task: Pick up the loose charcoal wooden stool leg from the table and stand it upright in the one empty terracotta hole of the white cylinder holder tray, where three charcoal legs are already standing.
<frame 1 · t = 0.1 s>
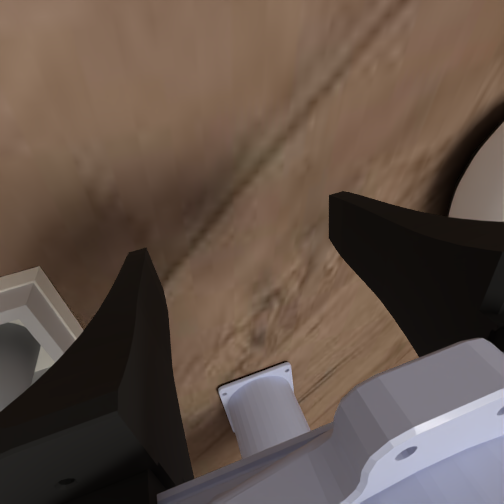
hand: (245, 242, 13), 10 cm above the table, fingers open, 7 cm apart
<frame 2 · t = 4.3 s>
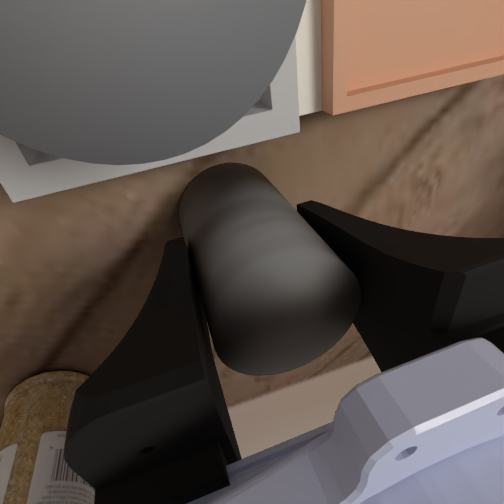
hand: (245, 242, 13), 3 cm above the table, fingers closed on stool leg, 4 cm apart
sprinkles bottle: (59, 391, 18), on the table
stool leg: (228, 211, 15), on the table, touching gripper
when the fingers open (5 cm above the table, at t = 10.9 s): stool leg stays where it is, resting on white cylinder holder tray.
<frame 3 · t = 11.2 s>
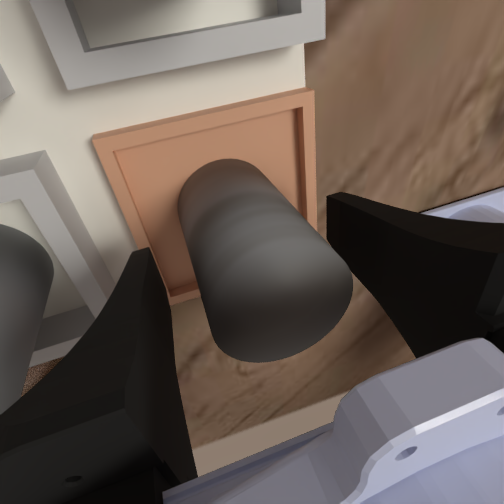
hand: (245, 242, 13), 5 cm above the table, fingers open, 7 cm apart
white cylinder holder tray: (66, 107, 13), on the table
stool leg: (226, 206, 15), point 2 cm above the table, touching white cylinder holder tray
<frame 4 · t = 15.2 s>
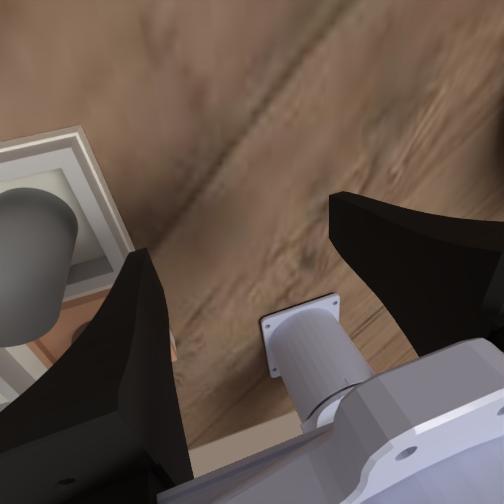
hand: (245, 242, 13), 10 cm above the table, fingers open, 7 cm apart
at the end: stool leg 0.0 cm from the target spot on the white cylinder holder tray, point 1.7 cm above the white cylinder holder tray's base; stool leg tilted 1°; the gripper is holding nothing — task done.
